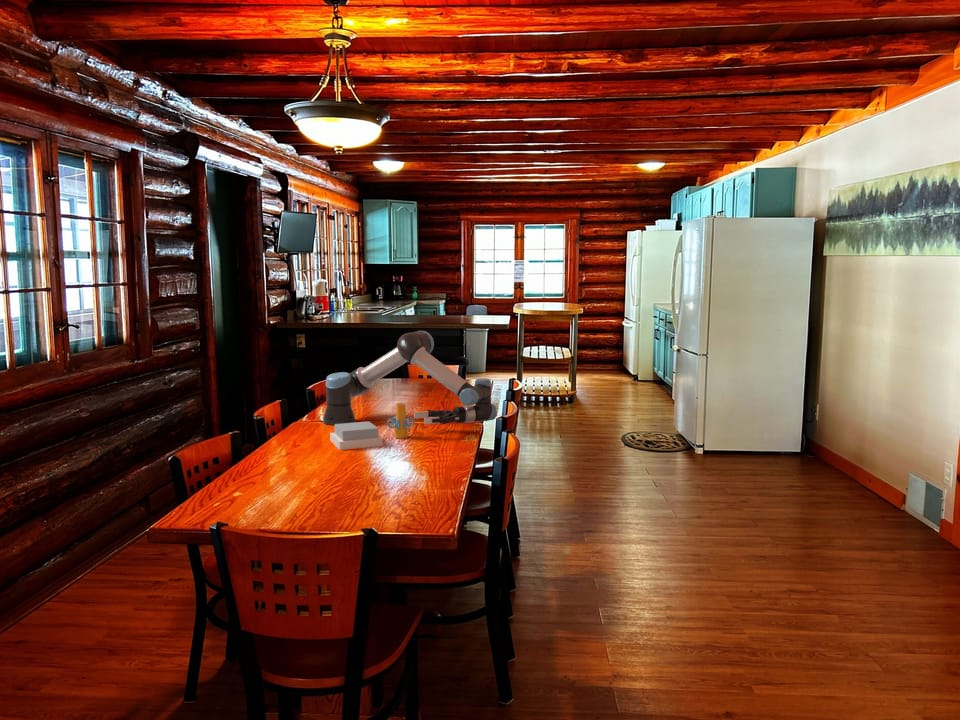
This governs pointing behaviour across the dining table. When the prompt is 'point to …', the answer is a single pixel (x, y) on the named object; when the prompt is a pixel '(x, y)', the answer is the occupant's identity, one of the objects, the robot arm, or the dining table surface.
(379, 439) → the tower base
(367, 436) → the tower top
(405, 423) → the yellow post with rings
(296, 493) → the dining table surface
